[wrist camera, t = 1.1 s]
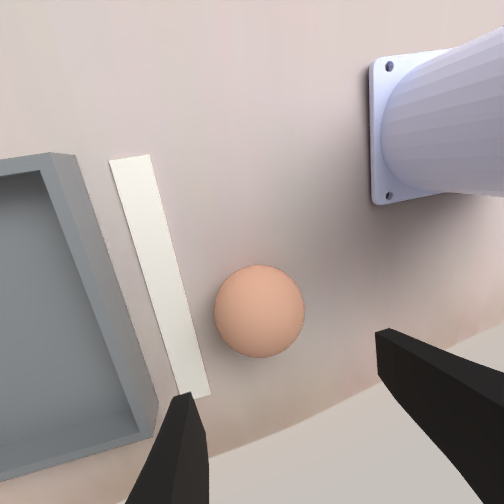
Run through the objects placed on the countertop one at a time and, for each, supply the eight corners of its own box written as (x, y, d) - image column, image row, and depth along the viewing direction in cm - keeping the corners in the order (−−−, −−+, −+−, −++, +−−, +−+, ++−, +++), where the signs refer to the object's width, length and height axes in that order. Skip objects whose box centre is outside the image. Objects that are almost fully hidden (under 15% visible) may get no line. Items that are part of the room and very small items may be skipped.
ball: (282, 246, 17) (315, 275, 13) (291, 315, 19) (324, 363, 14) (203, 263, 17) (207, 300, 12) (219, 333, 18) (228, 390, 14)
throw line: (149, 154, 15) (149, 154, 14) (211, 393, 20) (211, 394, 19) (109, 160, 14) (109, 160, 14) (182, 401, 19) (182, 402, 19)
